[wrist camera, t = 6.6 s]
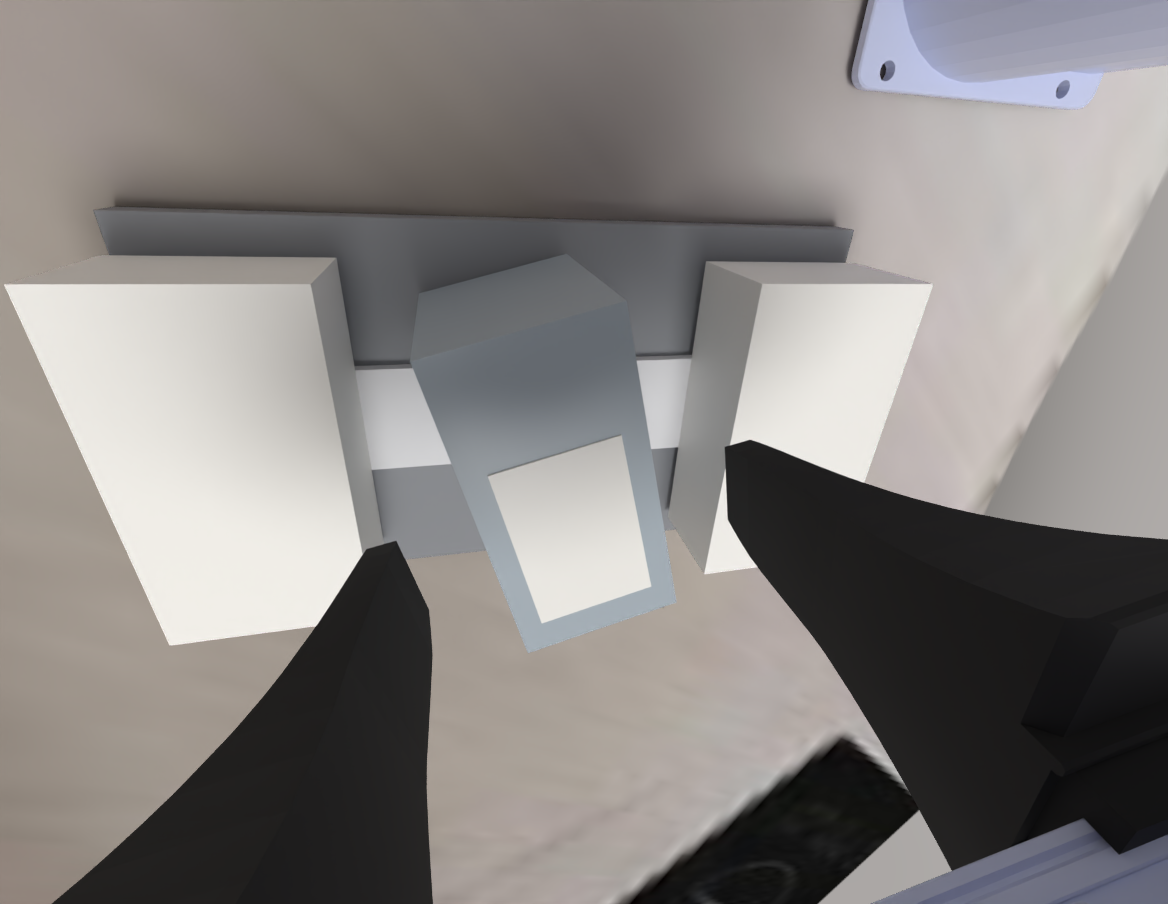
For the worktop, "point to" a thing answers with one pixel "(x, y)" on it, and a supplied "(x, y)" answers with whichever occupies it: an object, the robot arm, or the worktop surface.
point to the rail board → (393, 395)
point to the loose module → (548, 442)
